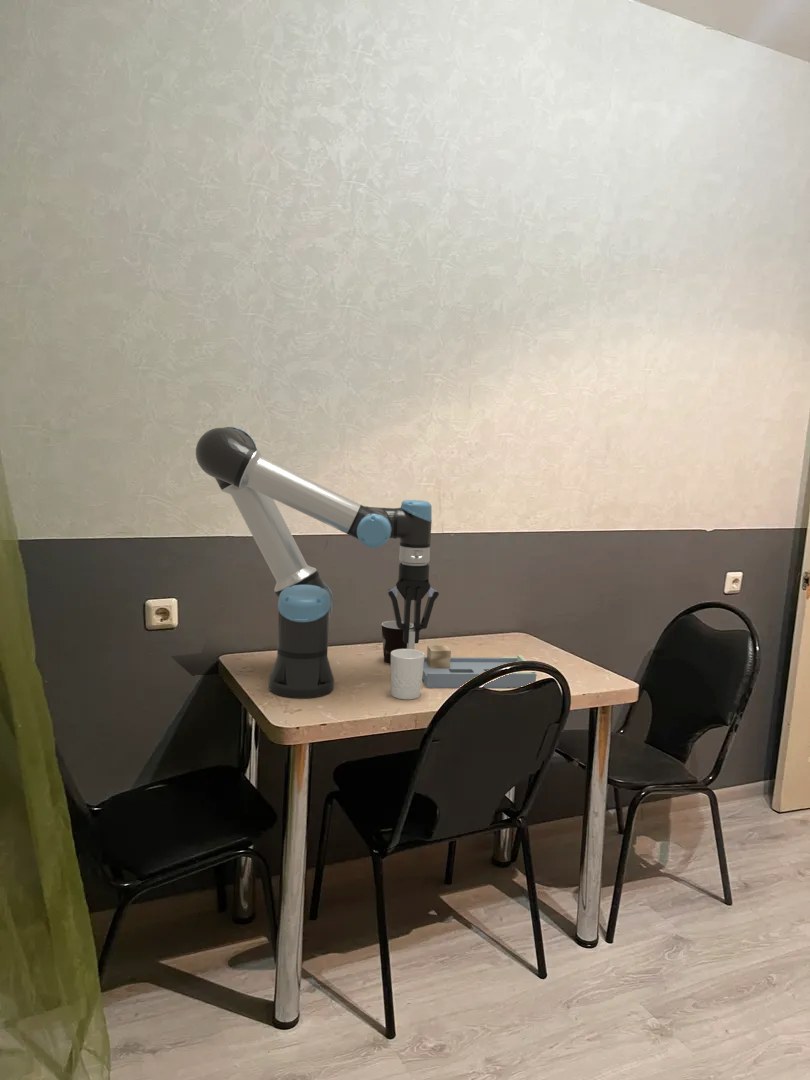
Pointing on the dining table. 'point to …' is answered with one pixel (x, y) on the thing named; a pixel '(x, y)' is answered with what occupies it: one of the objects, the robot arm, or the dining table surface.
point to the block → (438, 656)
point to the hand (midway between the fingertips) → (410, 655)
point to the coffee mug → (392, 639)
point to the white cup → (406, 673)
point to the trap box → (474, 672)
